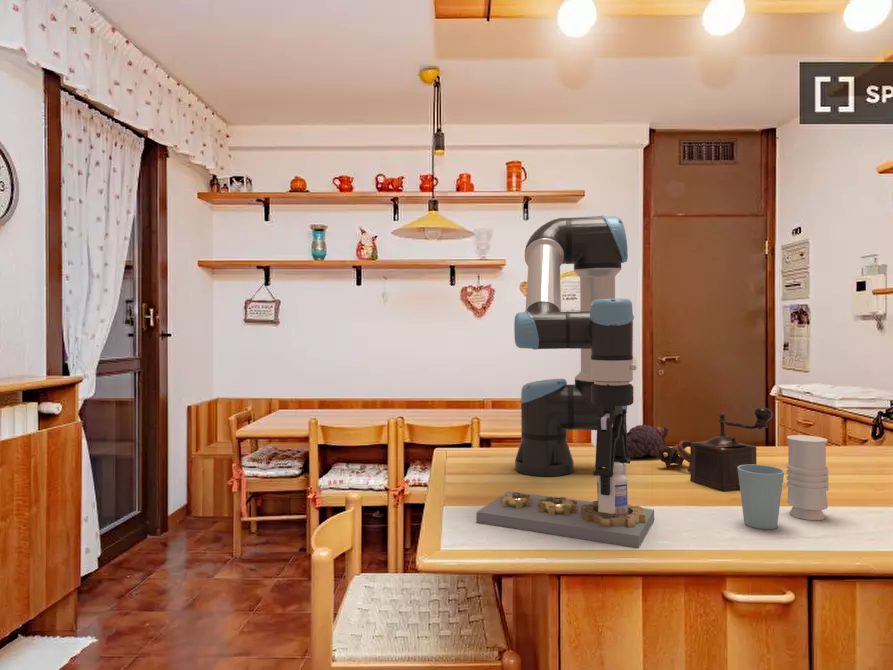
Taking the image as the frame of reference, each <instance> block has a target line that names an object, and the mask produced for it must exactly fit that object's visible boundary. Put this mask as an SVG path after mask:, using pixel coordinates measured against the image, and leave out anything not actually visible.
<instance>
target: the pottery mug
mask: <svg viewBox="0 0 893 670" xmlns="http://www.w3.org/2000/svg"><path fill="white" fill-rule="evenodd" d="M691 442H692V441H690V440H680V441H679V442H678V444H675V445H673V446H672V447H670V446H667V445H666V446H662V447H660V448H659V449H658V451H657V457H658V459H659V460H660V461H661V462H663V463H664V464H665V467H666V468H669V467H670V466H671V464H675V465H679V466H682V465H683V463H684V461H686V462H687V463H688V464H689V465H688V467H687V469H686V470H687V472H688V473H690V452H688V451H687V450H686V448H687V447H690V444H691ZM664 453H666V454H667V455H666V456H665V455H664Z"/></svg>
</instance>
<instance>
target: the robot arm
mask: <svg viewBox="0 0 893 670" xmlns="http://www.w3.org/2000/svg"><path fill="white" fill-rule="evenodd" d="M628 250H629V249H628V240H627V234H626V229H625V226H624V223H623V220H622V219H621V218H620V217H618V216H615V215H614V216H613V215H612V216H611V215H610V216H609V215H596V216H595V215H594V216H578V217H558V218H556V219H552V220H550V221H547V222H545V223H544V224H542V225H541V226H540V227H538V228H537V229H536V230H535V231H534V232H533V234H532V235H531V236H530V237H529V239H528V240H527V243H526V245H525V249H524V262H525V263H526V266H527V279H526V280H527V281H526V285H527V286H526V297H525V311H524V312H518V313H516V314H515V316H514V321H513V323H514V324H513V328H514V329H513V330H514V331H513V333H514V334H513V336H514V343H515V346H516V347H517V348H519V349H531V350H551V349H553V350H557V349H562V350H563V349H566V350H567V349H569V350H572V349H575V350H576V349H578V350H579V349H580V371H579V372H578V374H577V375H576V376H575V377H574V384H568V382H567V381H566V379H565V378H551V379H550V378H549V379H544V380H543V379H542V380H536V381H531V382H527V383H526V384H524V385H522V387H521V394H520V404H521V406H520V408H521V410H520V411H521V412H520V414H521V415H520V418H521V419H520V421H521V423H520V426H521V429H520V430H521V439H520V443H519V447H518V450H517V452H516V456H515V458H514V459H515V460H514V470H515V471H516V472H518V473H521V474H525V475H529V476H534V477H535V476H536V477H558V476H565V475H568V474H572V473H573V472H574V471H575V463H574V459H573V455H572V453H571V450H570V446H569V444H568V438H567V431H570V430H571V431H596V442H595V443H596V446H595V464H594V465H595V466H594V470H593V471H592V474H593V476H597V477H598V492H597V501H599V512H604V513H612V514H614V513H615V476H613V468H614V462H619V463H622V464H623V472H622V474H623V475H625V476H626V477H627V464H629V465H630V464H631V458H630V457H628V456H629V454H628V442H627V433H628V425H627V413H628V407H629V406H631V405H633V404H634V385H633V384H632V383H630V382H632V381H633V380H634V371H636V370H637V365H635V364H633V363H634V356H633V355H634V353H633V349H634V347H633V345H634V342H633V341H634V339H633V338H634V336H633V334H634V332H633V331H634V318H635V316H634V313H633V302H632V301H631V300H630V299H629V298H616V276H617V275H618V274H619V273H620V272H621V271H622V264H624V263H627V262H628V258H629V257H628V255H629V253H628V252H629V251H628ZM562 265H573V271H574V273H575V274H576V275H577V276H578V277H579V279H580V280H579V287H580V288H579V290H580V291H579V294H580V295H579V296H580V297H579V298H580V299H579V300H580V304H579V305H580V307H579V308H580V309H579V310H580V311H579V310H578V311H562V299H561V297H562V296H561V291H562V290H561V289H562V288H561V266H562ZM602 467H606V468H602Z"/></svg>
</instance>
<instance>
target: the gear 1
mask: <svg viewBox="0 0 893 670" xmlns="http://www.w3.org/2000/svg"><path fill="white" fill-rule="evenodd" d="M552 497H553V496H550V497H546V499H545V500H542V499H539V500H538V511H539V512H541V513H543V512H546V513H548V515H553V516H555V515H556V514H557V515H564V516H568V515H570V513H577V512H578V504H577V501H575V500H576V499H574V500H568V499H569V498H567V497H562V496H560V497H558V498H552Z"/></svg>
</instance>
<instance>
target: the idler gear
mask: <svg viewBox="0 0 893 670" xmlns="http://www.w3.org/2000/svg"><path fill="white" fill-rule="evenodd" d="M514 492H515V493H511V494H508V495H503V494H501V495H500V496H499V497H501V503H502V506H503V507H513V508H516V509H522V507H526V506H527V507H531V506H532V498H530V495H528V494H529V493H526V494H524V495H523V494H520V493H521V492H518V493H517V491H514Z"/></svg>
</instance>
